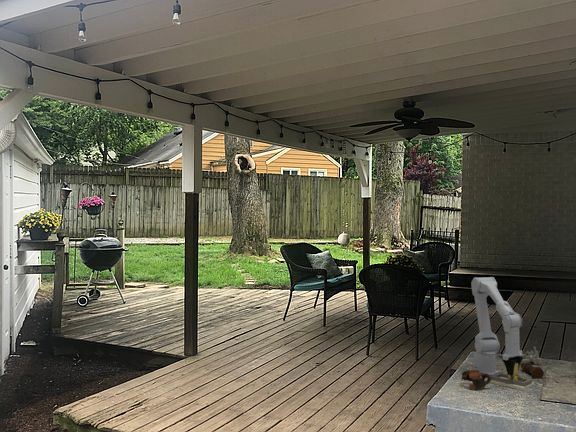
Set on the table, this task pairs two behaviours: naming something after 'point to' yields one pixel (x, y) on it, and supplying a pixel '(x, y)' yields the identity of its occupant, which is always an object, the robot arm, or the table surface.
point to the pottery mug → (476, 379)
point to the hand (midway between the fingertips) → (512, 374)
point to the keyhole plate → (511, 381)
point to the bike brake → (530, 356)
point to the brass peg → (515, 375)
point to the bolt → (532, 370)
